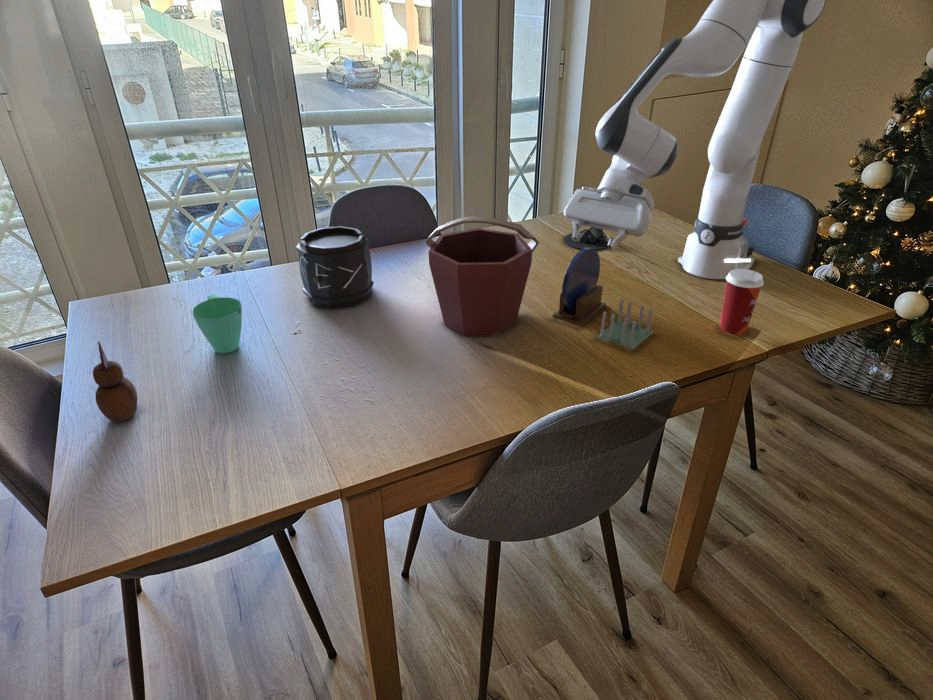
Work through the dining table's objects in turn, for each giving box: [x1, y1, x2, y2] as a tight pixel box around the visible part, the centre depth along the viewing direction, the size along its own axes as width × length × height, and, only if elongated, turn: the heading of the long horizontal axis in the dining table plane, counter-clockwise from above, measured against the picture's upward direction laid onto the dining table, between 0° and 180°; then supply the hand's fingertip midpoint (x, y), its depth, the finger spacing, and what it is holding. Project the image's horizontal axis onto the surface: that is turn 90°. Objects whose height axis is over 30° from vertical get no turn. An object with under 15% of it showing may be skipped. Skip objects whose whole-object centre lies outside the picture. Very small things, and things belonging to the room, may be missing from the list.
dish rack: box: [595, 298, 654, 350], centre depth 135 cm, size 10×9×7 cm
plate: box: [561, 247, 601, 311], centre depth 143 cm, size 15×1×15 cm, turn 140°
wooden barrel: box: [295, 225, 374, 310], centre depth 154 cm, size 18×18×16 cm
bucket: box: [425, 215, 540, 337], centre depth 138 cm, size 24×22×25 cm
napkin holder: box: [552, 284, 607, 326], centre depth 145 cm, size 13×7×6 cm, turn 140°
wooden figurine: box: [92, 340, 138, 423], centre depth 110 cm, size 7×6×15 cm
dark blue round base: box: [563, 227, 612, 251], centre depth 188 cm, size 15×15×6 cm
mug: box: [192, 293, 243, 354], centre depth 134 cm, size 15×10×10 cm
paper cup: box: [719, 269, 765, 335], centre depth 136 cm, size 8×8×14 cm
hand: (592, 243), depth 141 cm, fingers open, 8 cm apart
